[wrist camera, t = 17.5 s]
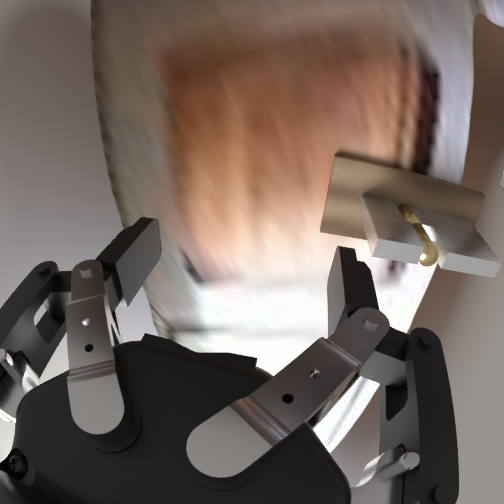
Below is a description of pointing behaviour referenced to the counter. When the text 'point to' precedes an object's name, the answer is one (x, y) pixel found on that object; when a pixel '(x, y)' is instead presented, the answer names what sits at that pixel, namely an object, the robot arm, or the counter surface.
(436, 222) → the fixed leaf
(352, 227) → the jig board
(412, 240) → the brushed metal block
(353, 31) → the counter surface
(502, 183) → the jar
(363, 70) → the counter surface
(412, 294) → the counter surface
